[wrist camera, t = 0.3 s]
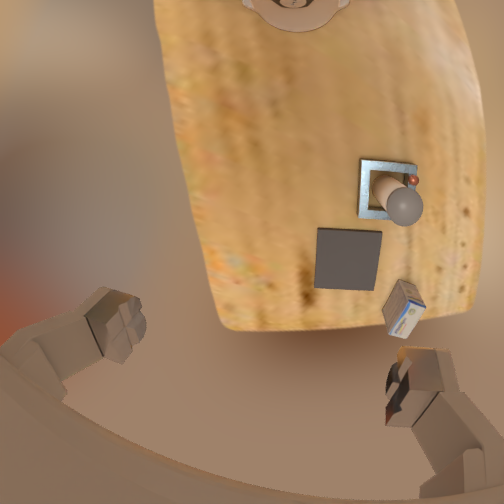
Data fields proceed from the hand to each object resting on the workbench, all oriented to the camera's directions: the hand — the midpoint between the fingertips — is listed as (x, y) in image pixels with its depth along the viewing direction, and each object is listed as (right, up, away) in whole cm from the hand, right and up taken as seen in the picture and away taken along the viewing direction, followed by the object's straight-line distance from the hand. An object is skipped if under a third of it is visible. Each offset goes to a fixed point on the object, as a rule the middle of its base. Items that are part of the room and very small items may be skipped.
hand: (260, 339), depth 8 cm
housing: (+23, +14, +40) cm, 48 cm away
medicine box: (+30, -7, +48) cm, 57 cm away
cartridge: (+23, +14, +40) cm, 48 cm away
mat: (+18, +1, +46) cm, 50 cm away
